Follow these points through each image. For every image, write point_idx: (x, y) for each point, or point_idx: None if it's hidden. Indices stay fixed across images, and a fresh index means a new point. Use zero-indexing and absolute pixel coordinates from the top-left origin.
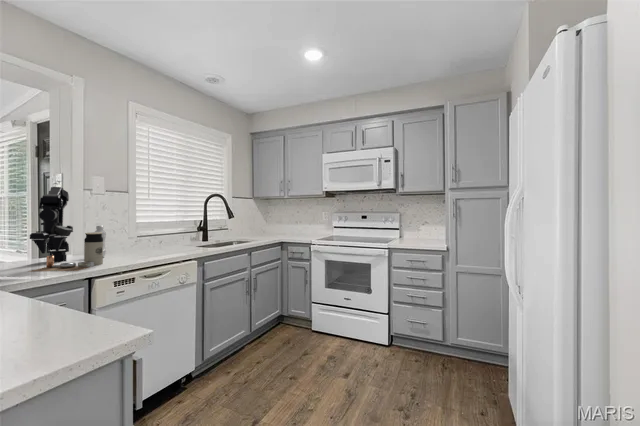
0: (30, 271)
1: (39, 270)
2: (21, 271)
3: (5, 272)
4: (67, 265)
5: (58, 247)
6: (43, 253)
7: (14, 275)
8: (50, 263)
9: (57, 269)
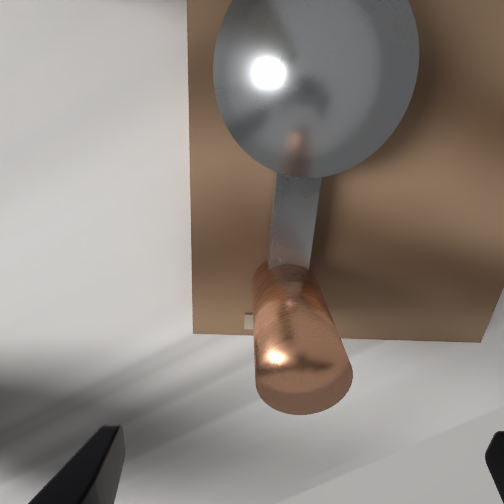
0: (487, 320)
1: (453, 279)
2: (310, 425)
3: (331, 479)
4: (407, 32)
5: (89, 499)
6: (501, 440)
7: (489, 376)
8: (319, 292)
9: (445, 128)
